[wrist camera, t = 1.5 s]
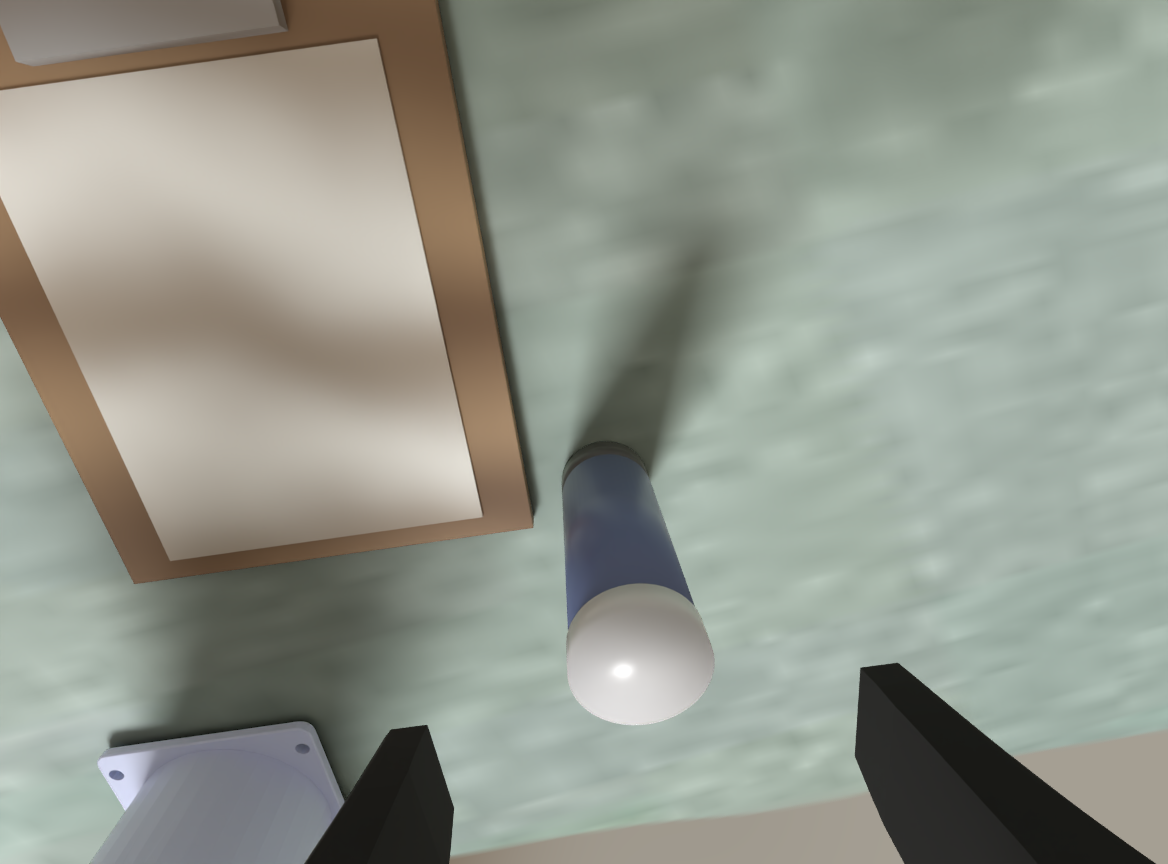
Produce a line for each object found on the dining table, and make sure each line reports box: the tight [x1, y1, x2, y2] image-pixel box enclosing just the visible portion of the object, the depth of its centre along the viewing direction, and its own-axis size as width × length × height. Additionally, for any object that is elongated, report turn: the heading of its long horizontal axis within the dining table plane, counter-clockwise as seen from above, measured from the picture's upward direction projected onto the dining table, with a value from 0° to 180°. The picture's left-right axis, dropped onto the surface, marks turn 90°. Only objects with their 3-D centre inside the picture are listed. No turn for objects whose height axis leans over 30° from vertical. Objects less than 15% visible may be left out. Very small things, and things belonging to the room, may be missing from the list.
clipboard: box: [0, 0, 534, 584], centre depth 16 cm, size 16×13×1 cm
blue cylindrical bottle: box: [562, 441, 714, 725], centre depth 15 cm, size 3×3×8 cm
